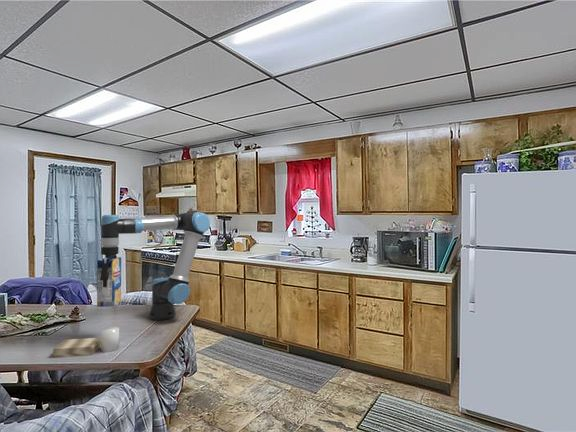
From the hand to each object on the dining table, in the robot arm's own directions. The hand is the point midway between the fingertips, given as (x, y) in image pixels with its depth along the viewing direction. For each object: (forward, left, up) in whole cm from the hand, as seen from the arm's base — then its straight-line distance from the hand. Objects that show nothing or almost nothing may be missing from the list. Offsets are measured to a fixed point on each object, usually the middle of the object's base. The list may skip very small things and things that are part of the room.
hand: (109, 291), depth 161 cm
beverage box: (0, 0, -6) cm, 6 cm away
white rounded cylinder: (-5, +15, -23) cm, 28 cm away
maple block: (+8, +15, -23) cm, 28 cm away
